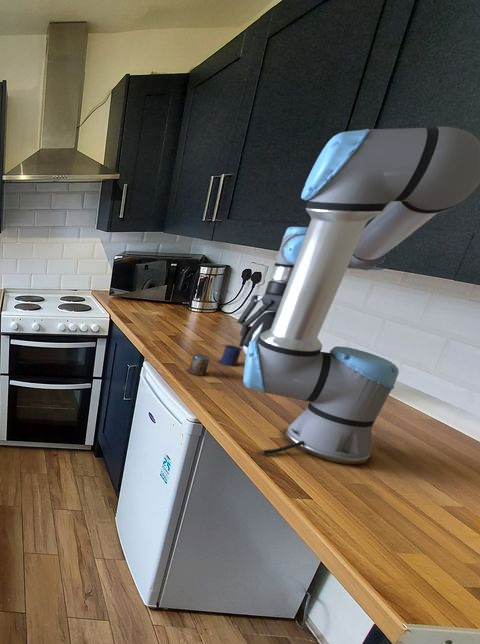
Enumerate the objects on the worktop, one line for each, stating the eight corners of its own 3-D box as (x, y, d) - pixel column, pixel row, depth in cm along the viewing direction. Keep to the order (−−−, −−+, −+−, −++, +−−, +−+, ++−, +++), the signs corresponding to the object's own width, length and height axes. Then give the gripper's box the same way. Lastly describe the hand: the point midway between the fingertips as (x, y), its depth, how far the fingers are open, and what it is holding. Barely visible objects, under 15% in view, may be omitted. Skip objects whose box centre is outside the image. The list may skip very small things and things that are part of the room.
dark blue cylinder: (231, 366, 143) (237, 350, 141) (217, 362, 147) (222, 346, 145) (238, 364, 146) (244, 348, 143) (225, 360, 150) (229, 344, 147)
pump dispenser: (284, 363, 126) (302, 316, 120) (251, 362, 126) (268, 314, 120) (263, 353, 136) (278, 309, 130) (232, 351, 136) (246, 307, 130)
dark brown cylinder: (199, 376, 133) (204, 360, 131) (185, 371, 137) (190, 355, 135) (208, 374, 136) (213, 357, 133) (193, 369, 140) (198, 353, 137)
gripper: (335, 287, 114) (305, 359, 123) (250, 275, 132) (229, 339, 141) (324, 288, 111) (295, 363, 119) (238, 276, 128) (218, 342, 137)
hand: (259, 350), depth 130 cm, fingers closed on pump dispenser, 10 cm apart
